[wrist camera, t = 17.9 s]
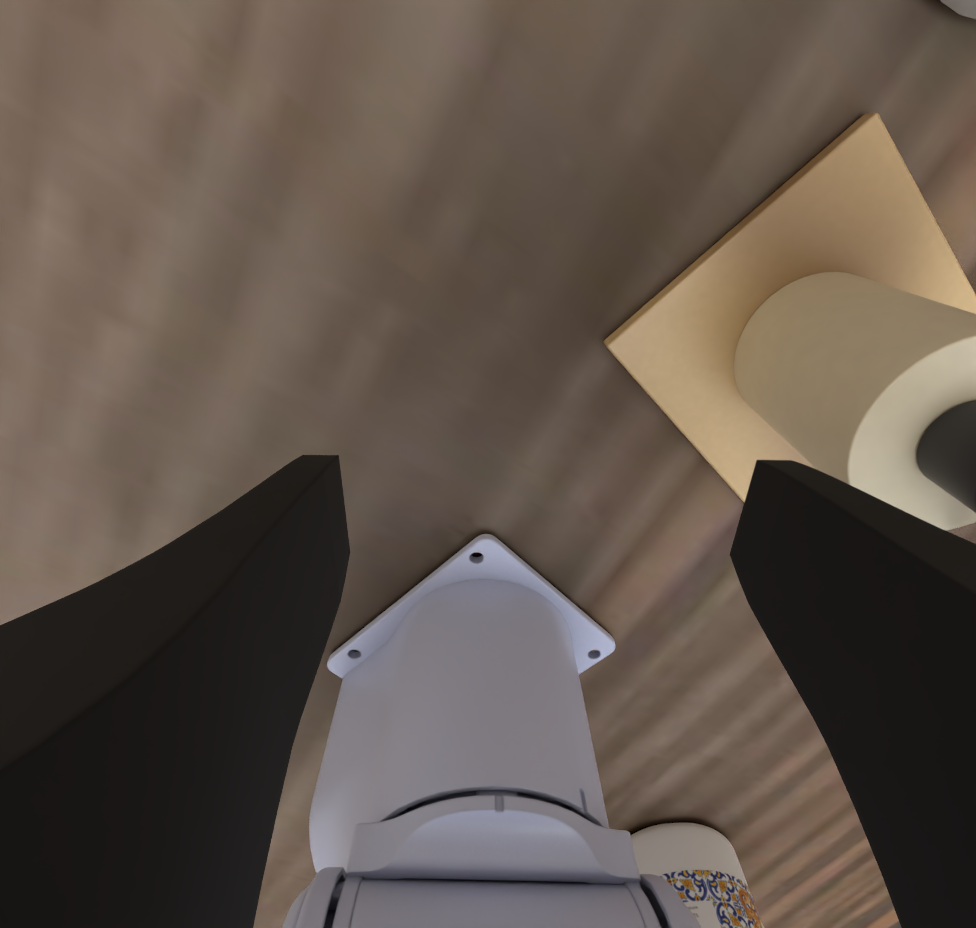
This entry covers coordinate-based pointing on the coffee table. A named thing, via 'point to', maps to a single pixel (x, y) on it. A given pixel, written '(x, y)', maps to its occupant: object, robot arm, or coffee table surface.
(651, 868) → the bath foam
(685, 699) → the coffee table surface
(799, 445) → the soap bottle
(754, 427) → the coaster
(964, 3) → the beverage can
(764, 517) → the robot arm
